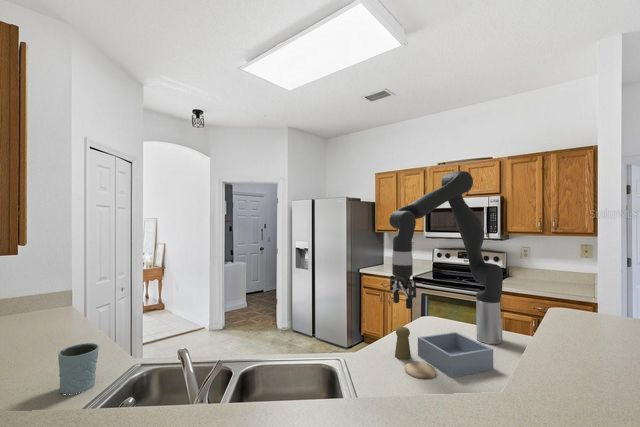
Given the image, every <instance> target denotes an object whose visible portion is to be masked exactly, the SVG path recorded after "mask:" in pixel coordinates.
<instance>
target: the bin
mask: <svg viewBox="0 0 640 427" xmlns="http://www.w3.org/2000/svg"><path fill="white" fill-rule="evenodd" d="M417 356H418V357H419V358H420V359H422V360H424V361H425V362H427V364H429V365H431V366H432V367H434V368H435V369H437V370H439V372H441V373H443V374H445V375H446V376H448V377H449V378H451V379H452V378H453V379H454V378H458V377H462V376H468V375H472V374H473V375H474V374H478V373H483V372H489V371H492V370H494V349H493V348H491V347H490V346H487V345H485V344H483V343H482V342H480V341H479V342H478V340H477V341H476V340H474V339H472V338H470V337H467V336H466V335H463V334H462V333H460V332H458V331H451V332H446V333H437V334H431V335H424V336H417Z"/></svg>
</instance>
